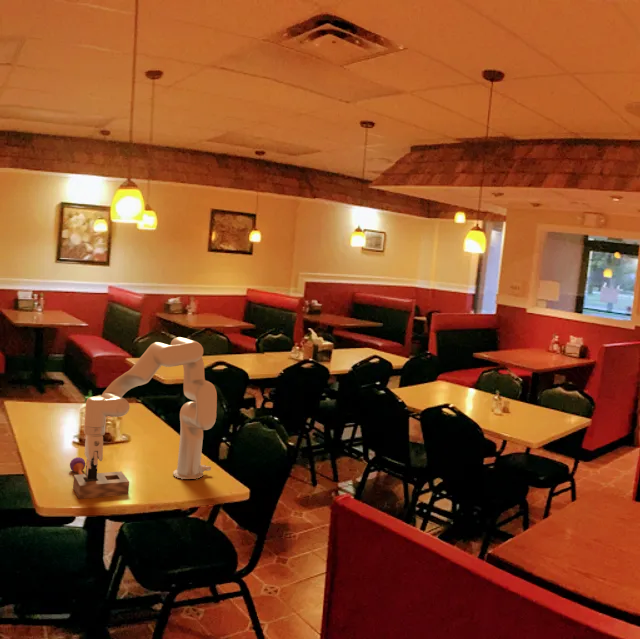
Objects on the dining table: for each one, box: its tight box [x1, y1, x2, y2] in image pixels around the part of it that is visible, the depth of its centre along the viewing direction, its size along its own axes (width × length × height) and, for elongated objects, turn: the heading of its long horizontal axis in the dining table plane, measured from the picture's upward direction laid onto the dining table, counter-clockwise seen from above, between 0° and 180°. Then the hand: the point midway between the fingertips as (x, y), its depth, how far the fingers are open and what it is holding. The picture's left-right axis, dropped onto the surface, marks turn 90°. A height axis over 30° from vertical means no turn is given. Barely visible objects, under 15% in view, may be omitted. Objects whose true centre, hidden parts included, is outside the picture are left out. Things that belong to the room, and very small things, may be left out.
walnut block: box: [72, 470, 130, 500], centre depth 248 cm, size 18×12×5 cm, turn 121°
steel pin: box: [85, 458, 96, 482], centre depth 245 cm, size 4×4×10 cm
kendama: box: [69, 456, 86, 475], centre depth 260 cm, size 6×6×20 cm
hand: (90, 476), depth 245 cm, fingers closed on steel pin, 3 cm apart
